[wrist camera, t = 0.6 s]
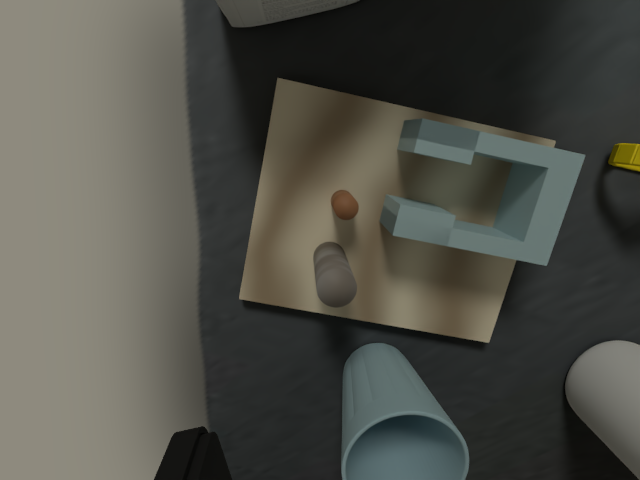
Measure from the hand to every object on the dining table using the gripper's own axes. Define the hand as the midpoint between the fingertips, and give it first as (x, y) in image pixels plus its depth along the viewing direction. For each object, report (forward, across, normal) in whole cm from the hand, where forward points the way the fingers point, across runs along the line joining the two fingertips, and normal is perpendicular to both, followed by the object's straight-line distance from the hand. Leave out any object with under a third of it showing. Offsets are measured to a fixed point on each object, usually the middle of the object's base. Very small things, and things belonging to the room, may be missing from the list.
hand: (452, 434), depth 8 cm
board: (+24, -4, +1) cm, 24 cm away
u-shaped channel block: (+23, -10, 0) cm, 25 cm away
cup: (+24, 0, +14) cm, 28 cm away
